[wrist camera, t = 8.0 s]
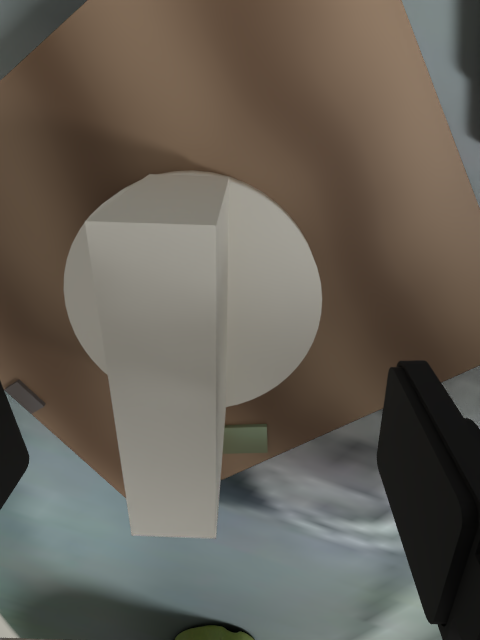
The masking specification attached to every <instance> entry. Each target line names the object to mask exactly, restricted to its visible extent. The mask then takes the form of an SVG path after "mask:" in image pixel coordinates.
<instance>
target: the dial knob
mask: <svg viewBox="0 0 480 640" xmlns="http://www.w3.org/2000/svg"><path fill="white" fill-rule="evenodd" d="M64 297H65V305H66V309H67V313H68V317H69V320H70V323H71V325H72V328H73V330H74V333H75V335H76V336H77V338H78V340H79V342H80V344H81V345H82V347H83V348H84V350H85V351H86V352H87V354H88V355H89V357H90V358H91V359H92V360H93V361H94V362H95V363H96V365H97V366H98V367H99V368H100V369H101V370H102V371H103V372H104V373H106V374H107V375H108V380H109V387H110V393H111V400H112V407H113V413H114V420H115V427H116V433H117V440H118V447H119V453H120V460H121V467H122V473H123V480H124V487H125V493H126V500H127V507H128V513H129V520H130V527H131V533H132V536H160V537H187V538H214V539H216V531H217V518H218V505H219V492H220V479H221V466H222V453H223V440H224V427H225V414H226V407H229V406H233V405H238V404H241V403H244V402H247V401H250V400H252V399H255V398H257V397H259V396H261V395H263V394H265V393H267V392H268V391H270V390H271V389H273V388H274V387H276V386H278V385H279V384H280V383H281V382H282V381H284V380H285V379H286V378H287V377H288V376H289V375H290V374H291V373H292V372H293V371H294V370H295V369H296V368H297V367H298V366H299V364H300V363H301V362H302V360H303V359H304V357H305V356H306V355H307V353H308V351H309V349H310V347H311V345H312V343H313V341H314V338H315V336H316V333H317V330H318V327H319V322H320V317H321V309H322V291H321V282H320V277H319V273H318V269H317V266H316V263H315V261H314V258H313V255H312V253H311V250H310V248H309V246H308V243H307V241H306V239H305V238H304V236H303V234H302V232H301V231H300V229H299V227H298V226H297V225H296V223H295V222H294V221H293V220H292V218H291V217H290V216H289V214H288V213H287V212H286V211H285V210H283V209H282V208H281V207H280V206H279V205H278V204H277V203H276V202H275V201H274V200H272V199H271V198H270V197H268V196H267V195H266V194H264V193H263V192H261V191H260V190H258V189H256V188H254V187H252V186H251V185H249V184H247V183H245V182H242V181H239V180H237V179H234V178H232V177H229V176H225V175H221V174H217V173H213V172H204V171H194V170H191V171H173V172H167V173H162V174H149V175H147V176H146V177H145V178H143V179H142V180H139V181H137V182H135V183H133V184H131V185H129V186H127V187H125V188H124V189H123V190H121V191H120V192H118V193H117V194H115V195H114V196H113V197H111V198H110V199H108V200H107V201H105V202H104V203H103V204H102V205H100V206H99V207H98V208H97V209H96V210H95V211H94V212H93V213H92V214H91V215H90V216H89V218H88V219H87V220H86V221H85V223H84V224H83V226H82V227H81V228H80V230H79V232H78V233H77V235H76V237H75V239H74V241H73V243H72V245H71V248H70V251H69V254H68V257H67V261H66V266H65V272H64Z"/></svg>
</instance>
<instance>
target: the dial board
mask: <svg viewBox="0 0 480 640" xmlns="http://www.w3.org/2000/svg"><path fill="white" fill-rule="evenodd" d="M191 170H194V171H204V172H213V173H217V174H221V175H225V176H229V177H232V178H234V179H237V180H239V181H242V182H245V183H247V184H249V185H251V186H252V187H254V188H256V189H258V190H260V191H261V192H263V193H264V194H266V195H267V196H268V197H270V198H271V199H272V200H274V201H275V202H276V203H277V204H278V205H279V206H280V207H281V208H282V209H283V210H285V211H286V212H287V213H288V214H289V216H290V217H291V218H292V220H293V221H294V222H295V223H296V225H297V226H298V227H299V229H300V231H301V232H302V234H303V236H304V238H305V239H306V241H307V243H308V246H309V248H310V250H311V253H312V255H313V258H314V261H315V263H316V266H317V269H318V273H319V277H320V282H321V291H322V309H321V317H320V322H319V327H318V330H317V333H316V336H315V338H314V341H313V343H312V345H311V347H310V349H309V351H308V353H307V355H306V356H305V357H304V359H303V360H302V362H301V363H300V364H299V366H298V367H297V368H296V369H295V370H294V371H293V372H292V373H291V374H290V375H289V376H288V377H287V378H286V379H285V380H284V381H282V382H281V383H280V384H279V385H278V386H276V387H274V388H273V389H271V390H270V391H268V392H267V393H265V394H263V395H261V396H259V397H257V398H255V399H252V400H250V401H247V402H244V403H241V404H238V405H233V406H229V407H226V414H225V427H224V440H223V453H222V466H221V479H220V480H223V479H225V478H227V477H229V476H232V475H234V474H236V473H238V472H241V471H243V470H245V469H247V468H250V467H252V466H254V465H256V464H259V463H261V462H263V461H265V460H268V459H270V458H272V457H274V456H277V455H279V454H281V453H283V452H286V451H288V450H290V449H292V448H295V447H297V446H299V445H301V444H304V443H306V442H308V441H310V440H313V439H315V438H317V437H319V436H322V435H324V434H326V433H328V432H331V431H333V430H335V429H337V428H340V427H342V426H344V425H346V424H349V423H351V422H353V421H356V420H358V419H360V418H362V417H365V416H367V415H369V414H371V413H374V412H376V411H378V410H380V409H383V406H384V399H385V392H386V385H387V377H388V371H389V369H390V367H396V366H397V363H398V362H399V361H413V360H425V361H427V362H428V364H429V365H430V367H431V368H432V370H433V371H434V373H435V374H436V376H437V377H438V379H439V381H440V382H443V381H446V380H448V379H450V378H452V377H455V376H457V375H459V374H461V373H464V372H466V371H468V370H470V369H473V368H475V367H477V366H479V365H480V208H479V206H478V203H477V200H476V198H475V195H474V192H473V190H472V187H471V184H470V182H469V179H468V176H467V174H466V171H465V168H464V166H463V163H462V160H461V158H460V155H459V152H458V150H457V147H456V144H455V142H454V139H453V136H452V134H451V131H450V128H449V126H448V123H447V120H446V118H445V115H444V113H443V110H442V107H441V105H440V102H439V99H438V97H437V94H436V91H435V89H434V86H433V83H432V81H431V78H430V75H429V73H428V70H427V67H426V65H425V62H424V59H423V57H422V54H421V51H420V49H419V46H418V43H417V41H416V38H415V35H414V33H413V30H412V27H411V25H410V22H409V19H408V17H407V14H406V11H405V9H404V6H403V3H402V1H401V0H87V1H86V2H85V3H84V4H83V5H82V6H81V7H80V8H79V9H78V10H76V11H75V12H74V13H73V14H72V15H71V16H70V17H69V18H68V19H67V20H66V21H65V22H63V23H62V24H61V25H60V26H59V27H58V28H57V29H56V30H55V31H54V32H53V33H52V34H50V35H49V36H48V37H47V38H46V39H45V40H44V41H43V42H42V43H41V44H40V45H39V46H37V47H36V48H35V49H34V50H33V51H32V52H31V53H30V54H29V55H28V56H27V57H25V58H24V59H23V60H22V61H21V62H20V63H19V64H18V65H17V66H16V67H15V68H14V69H12V70H11V71H10V72H9V73H8V74H7V75H6V76H5V77H4V78H3V79H2V80H1V81H0V381H1V384H2V386H3V389H4V390H5V391H6V392H7V393H8V394H9V395H11V396H12V397H13V398H14V399H15V400H16V401H17V402H18V403H20V404H21V405H22V406H23V407H24V408H25V409H26V410H27V411H28V412H30V413H31V414H32V415H33V416H34V417H35V418H37V419H38V420H39V421H40V422H41V423H42V424H43V425H44V426H46V427H47V428H48V429H49V430H50V431H51V432H52V433H53V434H54V435H56V436H57V437H58V438H59V439H60V440H61V441H62V442H63V443H65V444H66V445H67V446H68V447H69V448H70V449H71V450H72V451H74V452H75V453H76V454H77V455H78V456H79V457H80V458H81V459H82V460H84V461H85V462H86V463H87V464H88V465H89V466H90V467H91V468H93V469H94V470H95V471H96V472H97V473H98V474H99V475H100V476H102V477H103V478H104V479H105V480H106V481H107V482H108V483H109V484H110V485H112V486H113V487H114V488H115V489H116V490H117V491H118V492H119V493H121V494H122V495H123V496H124V497H125V498H126V493H125V487H124V480H123V473H122V467H121V460H120V453H119V447H118V440H117V433H116V427H115V420H114V413H113V407H112V400H111V393H110V387H109V380H108V375H107V374H106V373H104V372H103V371H102V370H101V369H100V368H99V367H98V366H97V365H96V363H95V362H94V361H93V360H92V359H91V358H90V357H89V355H88V354H87V352H86V351H85V350H84V348H83V347H82V345H81V344H80V342H79V340H78V338H77V336H76V335H75V333H74V330H73V328H72V325H71V323H70V320H69V317H68V313H67V309H66V305H65V297H64V272H65V266H66V261H67V257H68V254H69V251H70V248H71V245H72V243H73V241H74V239H75V237H76V235H77V233H78V232H79V230H80V228H81V227H82V226H83V224H84V223H85V221H86V220H87V219H88V218H89V216H90V215H91V214H92V213H93V212H94V211H95V210H96V209H97V208H98V207H99V206H100V205H102V204H103V203H104V202H105V201H107V200H108V199H110V198H111V197H113V196H114V195H115V194H117V193H118V192H120V191H121V190H123V189H124V188H125V187H127V186H129V185H131V184H133V183H135V182H137V181H139V180H142V179H143V178H145V177H146V176H147V175H149V174H162V173H167V172H173V171H191Z"/></svg>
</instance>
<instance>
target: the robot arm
mask: <svg viewBox="0 0 480 640" xmlns="http://www.w3.org/2000/svg"><path fill="white" fill-rule="evenodd" d="M28 464H29V454H28V451H27V448H26V446H25V443H24V441H23V438H22V435H21V433H20V430H19V428H18V425H17V423H16V420H15V417H14V415H13V412H12V410H11V407H10V404H9V402H8V399H7V397H6V394H5V392H4V389H3V386H2V384H1V381H0V510H1V508H2V506H3V505H4V503H5V502H6V500H7V499H8V497H9V496H10V494H11V493H12V491H13V489H14V488H15V486H16V485H17V483H18V482H19V480H20V479H21V477H22V476H23V474H24V473H25V471H26V469H27V467H28ZM377 464H378V469H379V472H380V476H381V479H382V482H383V485H384V488H385V491H386V494H387V497H388V501H389V504H390V507H391V510H392V513H393V516H394V519H395V522H396V526H397V529H398V532H399V535H400V538H401V541H402V544H403V547H404V550H405V554H406V557H407V560H408V563H409V566H410V569H411V572H412V575H413V579H414V582H415V585H416V588H417V591H418V594H419V597H420V600H421V603H422V607H423V610H424V613H425V615H426V618H427V620H428V622H429V623H430V624H438V627H439V630H440V633H441V636H442V639H443V640H480V429H479V428H478V426H477V425H476V424H475V423H474V422H473V421H472V420H470V419H468V418H463V416H462V415H461V413H460V412H459V410H458V408H457V407H456V405H455V404H454V402H453V401H452V399H451V398H450V396H449V394H448V393H447V391H446V390H445V388H444V387H443V385H442V384H441V382H440V381H439V379H438V377H437V376H436V374H435V373H434V371H433V370H432V368H431V367H430V365H429V364H428V362H427V361H425V360H413V361H399V362H398V363H397V366H396V367H390V369H389V371H388V377H387V385H386V392H385V399H384V406H383V414H382V421H381V428H380V435H379V443H378V450H377ZM0 640H61V639H25V638H0Z"/></svg>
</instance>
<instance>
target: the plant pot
mask: <svg viewBox="0 0 480 640" xmlns="http://www.w3.org/2000/svg"><path fill="white" fill-rule="evenodd" d="M175 640H254V639H253V638H252V637H251V636H249V635H248V634H246V633H244V632H241V631H240V632H238V633H233V632H230V631H228V630H226V629H225V628H224V627H222V626H216V625H207V626H203V627H196V628H191V629H188V630H186V631H183V632H182V633H180V634H178V635H177V636H176V638H175Z"/></svg>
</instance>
